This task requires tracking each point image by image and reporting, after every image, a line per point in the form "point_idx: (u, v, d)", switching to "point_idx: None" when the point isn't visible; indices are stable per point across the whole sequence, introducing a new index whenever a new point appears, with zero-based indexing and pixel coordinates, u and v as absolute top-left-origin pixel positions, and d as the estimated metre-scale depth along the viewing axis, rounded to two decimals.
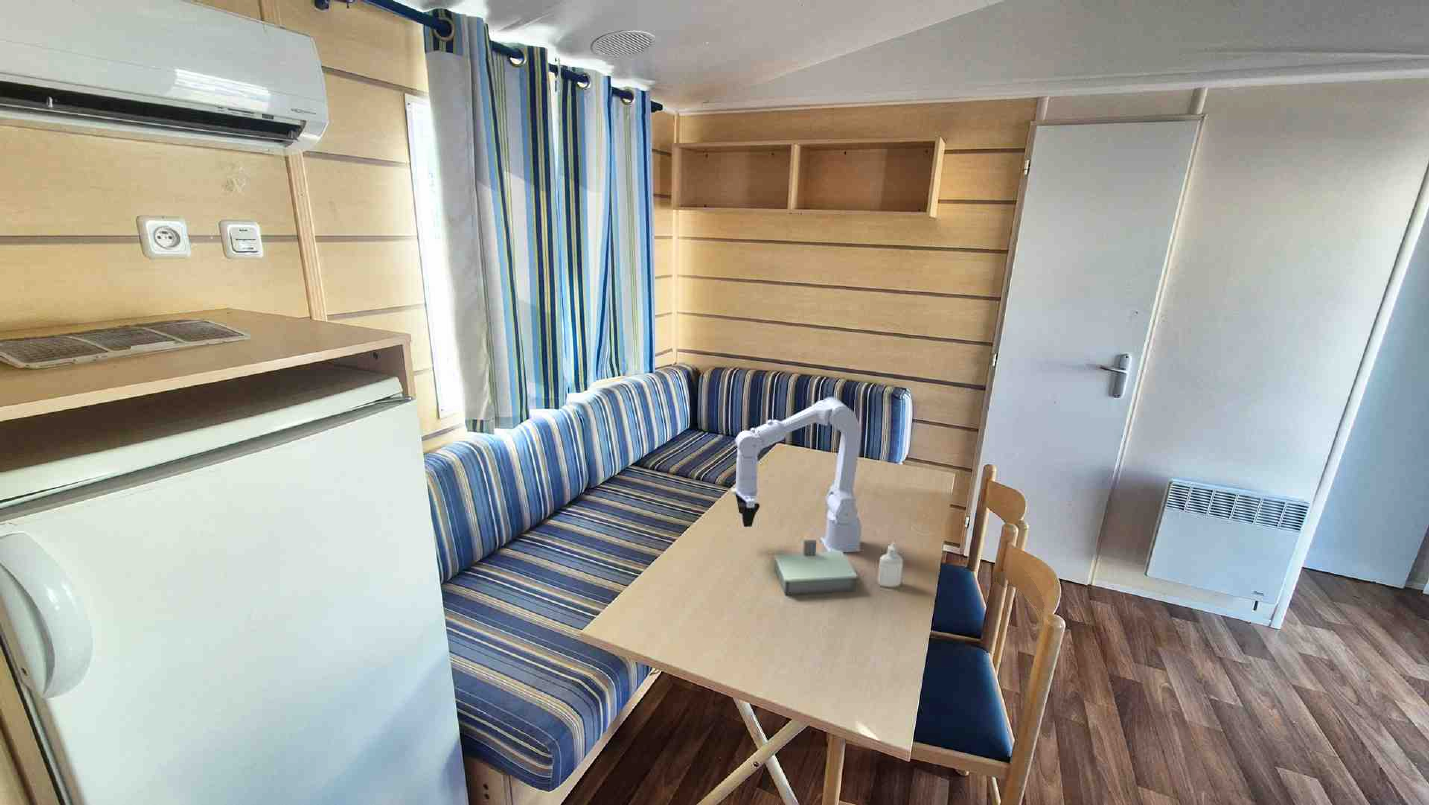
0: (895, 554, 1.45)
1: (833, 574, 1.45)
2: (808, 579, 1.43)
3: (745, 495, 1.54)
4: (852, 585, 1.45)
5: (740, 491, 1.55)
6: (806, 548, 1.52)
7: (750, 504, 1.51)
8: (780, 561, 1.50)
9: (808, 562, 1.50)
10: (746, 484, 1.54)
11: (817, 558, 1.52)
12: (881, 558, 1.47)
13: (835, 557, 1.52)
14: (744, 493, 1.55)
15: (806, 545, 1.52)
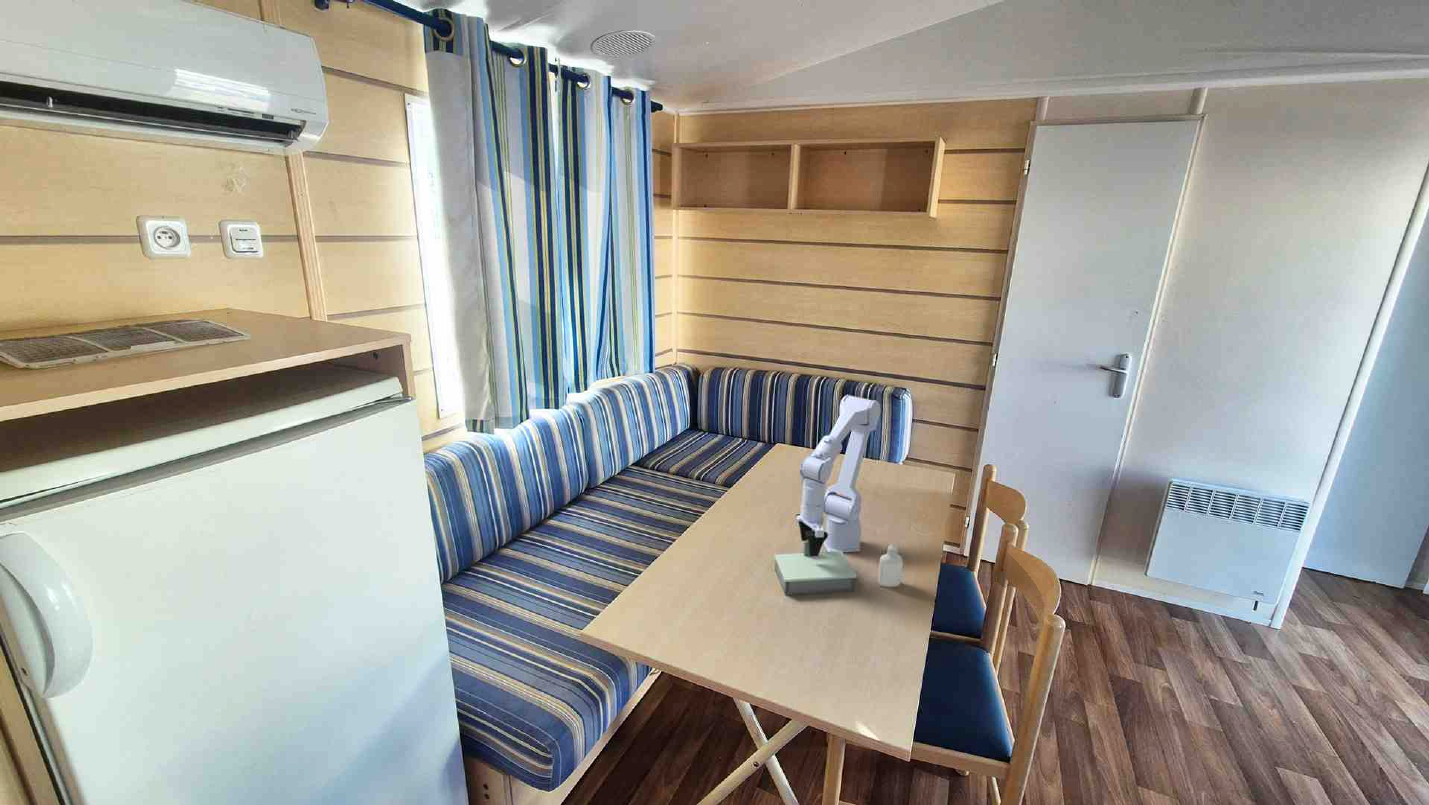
0: (895, 554, 1.45)
1: (833, 574, 1.45)
2: (808, 579, 1.43)
3: (812, 523, 1.47)
4: (852, 585, 1.45)
5: (807, 519, 1.48)
6: (806, 548, 1.52)
7: (819, 533, 1.43)
8: (780, 561, 1.50)
9: (808, 562, 1.50)
10: (813, 511, 1.47)
11: (817, 558, 1.52)
12: (881, 558, 1.47)
13: (835, 557, 1.52)
14: (811, 521, 1.47)
15: (806, 545, 1.52)
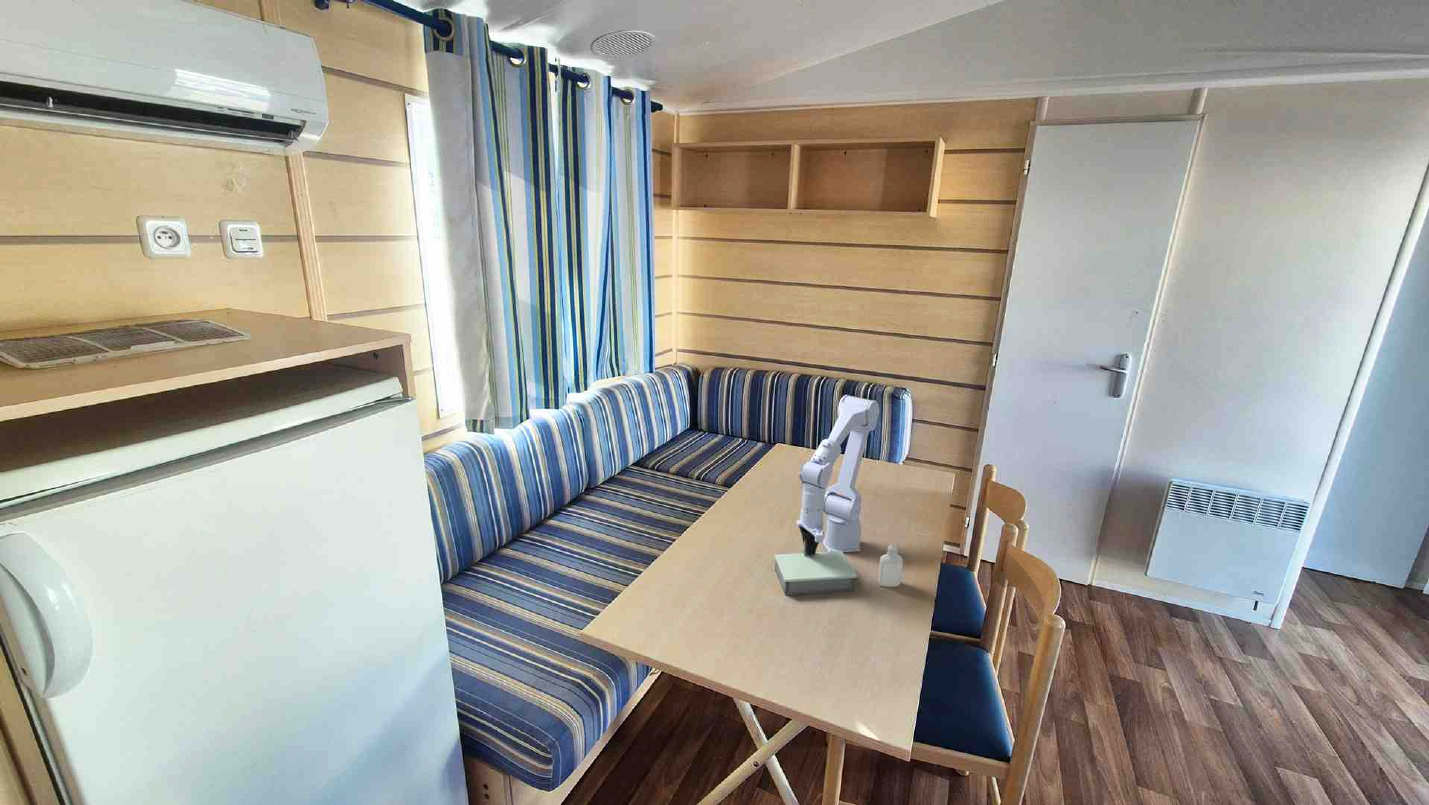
0: (895, 554, 1.45)
1: (833, 574, 1.45)
2: (808, 579, 1.43)
3: (812, 528, 1.48)
4: (852, 585, 1.45)
5: (806, 524, 1.48)
6: None
7: (819, 538, 1.44)
8: (780, 561, 1.50)
9: (808, 562, 1.50)
10: (813, 516, 1.47)
11: (817, 558, 1.52)
12: (881, 558, 1.47)
13: (835, 557, 1.52)
14: (811, 526, 1.48)
15: None
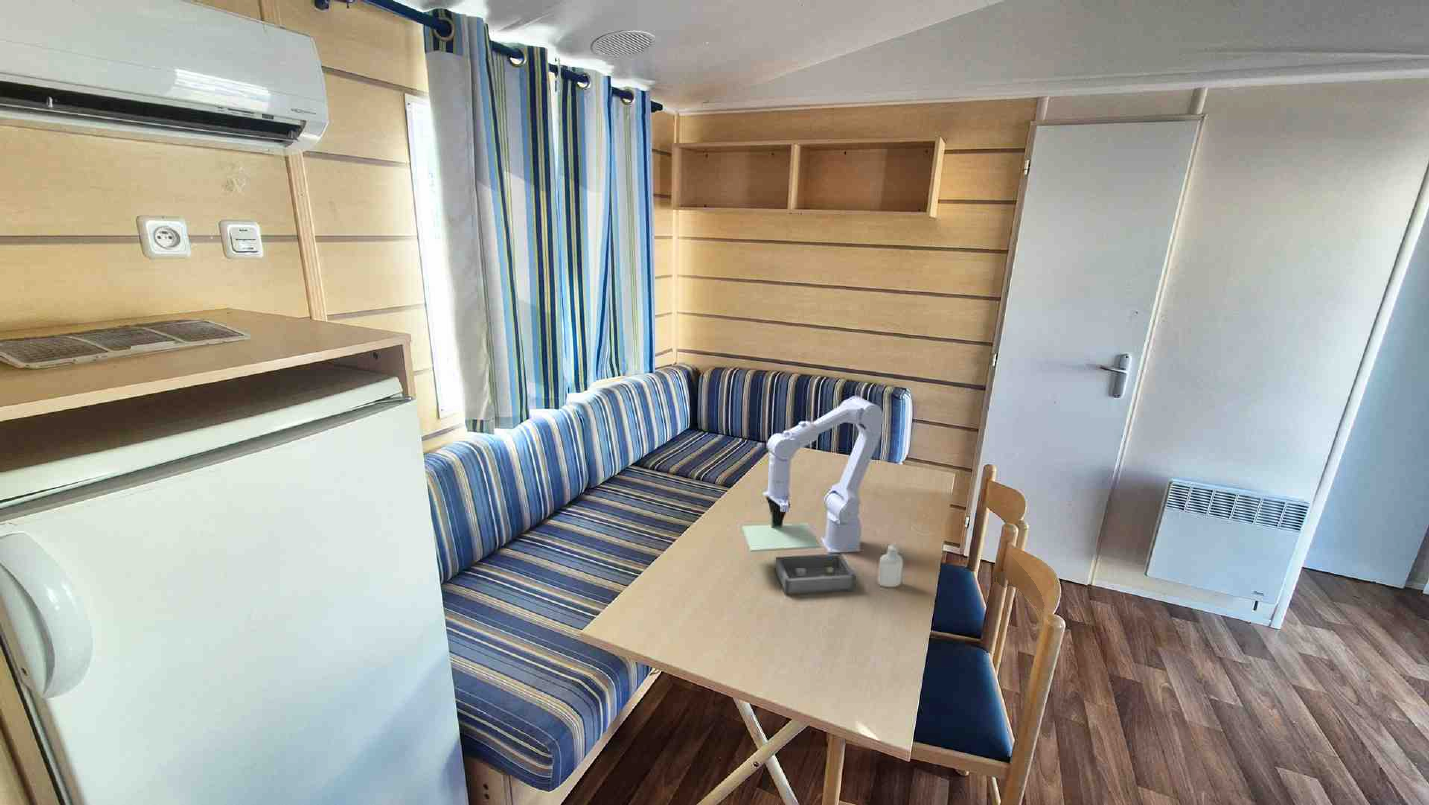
0: (895, 554, 1.45)
1: (798, 544, 1.49)
2: (773, 549, 1.48)
3: (778, 499, 1.52)
4: (852, 585, 1.45)
5: (773, 495, 1.53)
6: None
7: (784, 508, 1.48)
8: (747, 532, 1.55)
9: (774, 533, 1.54)
10: (779, 487, 1.52)
11: (783, 529, 1.56)
12: (881, 558, 1.47)
13: (801, 529, 1.57)
14: (777, 497, 1.52)
15: None
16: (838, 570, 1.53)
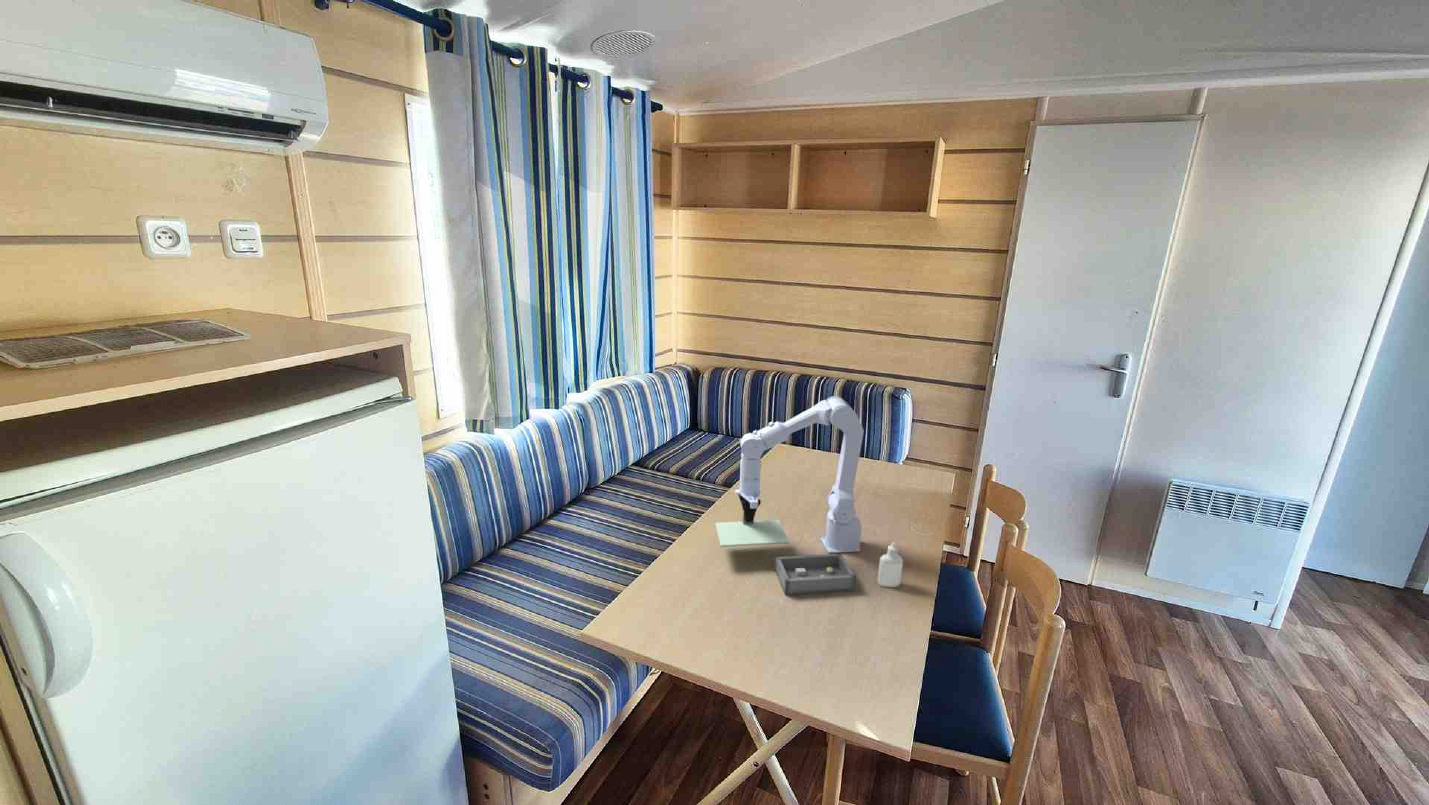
0: (895, 554, 1.45)
1: (766, 540, 1.56)
2: (742, 544, 1.54)
3: (748, 496, 1.58)
4: (852, 585, 1.45)
5: (744, 492, 1.59)
6: (744, 517, 1.63)
7: (753, 505, 1.55)
8: (719, 528, 1.61)
9: (745, 529, 1.61)
10: (749, 485, 1.58)
11: (754, 526, 1.62)
12: (881, 558, 1.47)
13: (771, 526, 1.63)
14: (748, 494, 1.59)
15: None
16: (838, 570, 1.53)
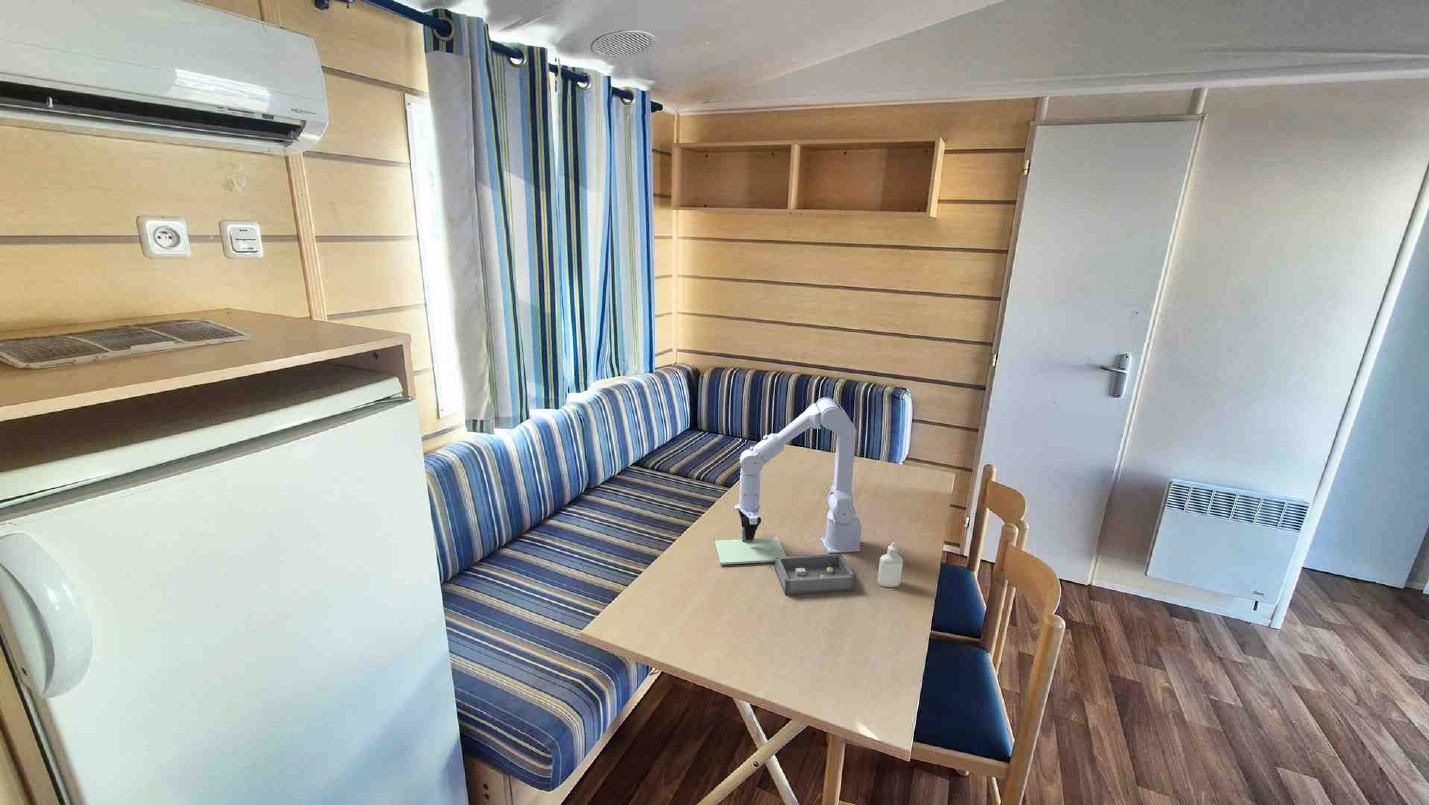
0: (895, 554, 1.45)
1: (765, 558, 1.58)
2: (742, 562, 1.56)
3: (748, 512, 1.60)
4: (852, 585, 1.45)
5: (743, 508, 1.60)
6: (744, 534, 1.65)
7: (753, 521, 1.56)
8: (719, 546, 1.63)
9: (744, 547, 1.63)
10: (749, 501, 1.59)
11: (754, 543, 1.65)
12: (881, 558, 1.47)
13: (770, 543, 1.65)
14: (747, 510, 1.60)
15: (744, 532, 1.65)
16: (838, 570, 1.53)
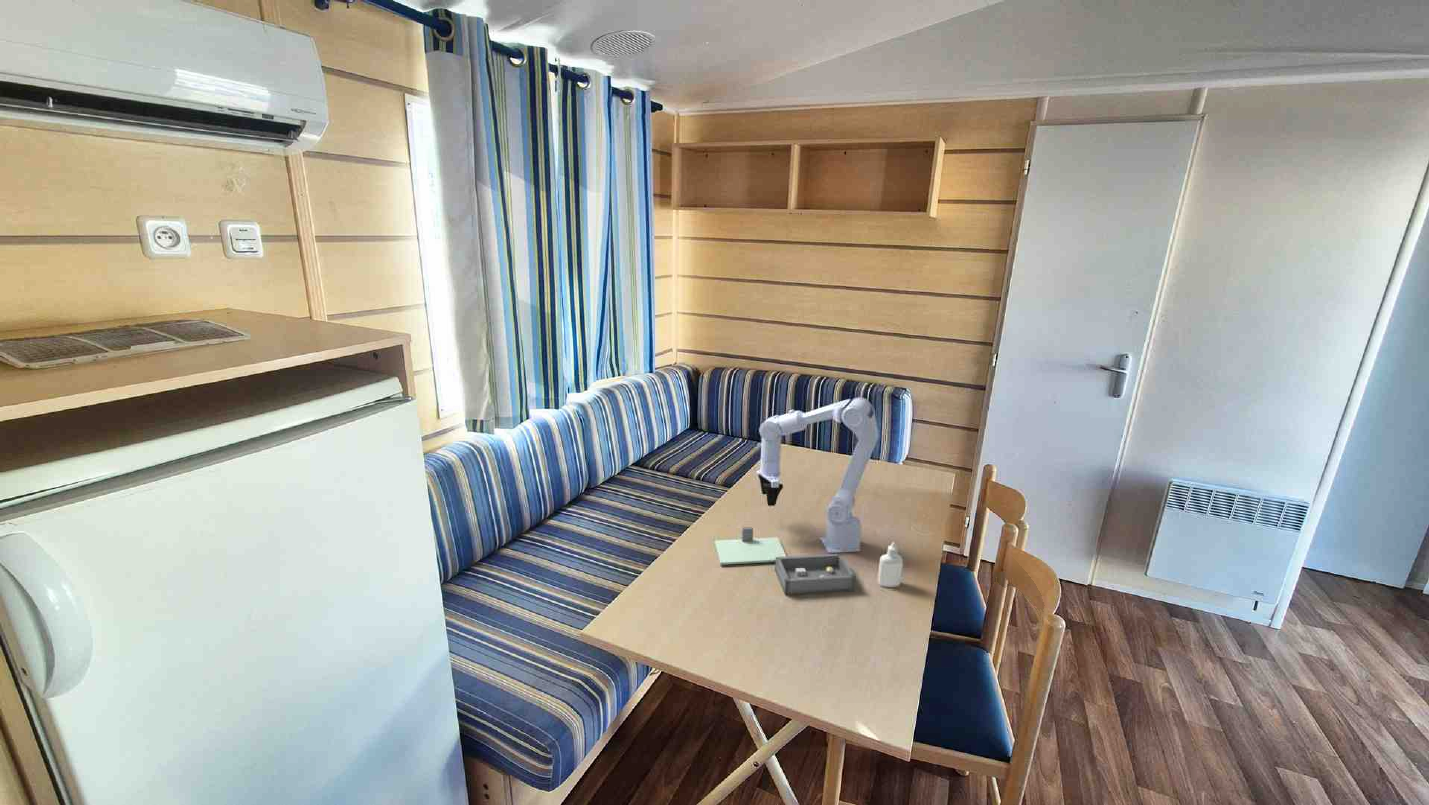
0: (895, 554, 1.45)
1: (765, 558, 1.58)
2: (742, 562, 1.56)
3: (769, 476, 1.67)
4: (852, 585, 1.45)
5: (764, 473, 1.68)
6: (744, 534, 1.65)
7: (775, 484, 1.63)
8: (719, 546, 1.63)
9: (744, 547, 1.63)
10: (770, 466, 1.66)
11: (754, 543, 1.65)
12: (881, 558, 1.47)
13: (770, 543, 1.65)
14: (768, 474, 1.67)
15: (744, 532, 1.65)
16: (838, 570, 1.53)
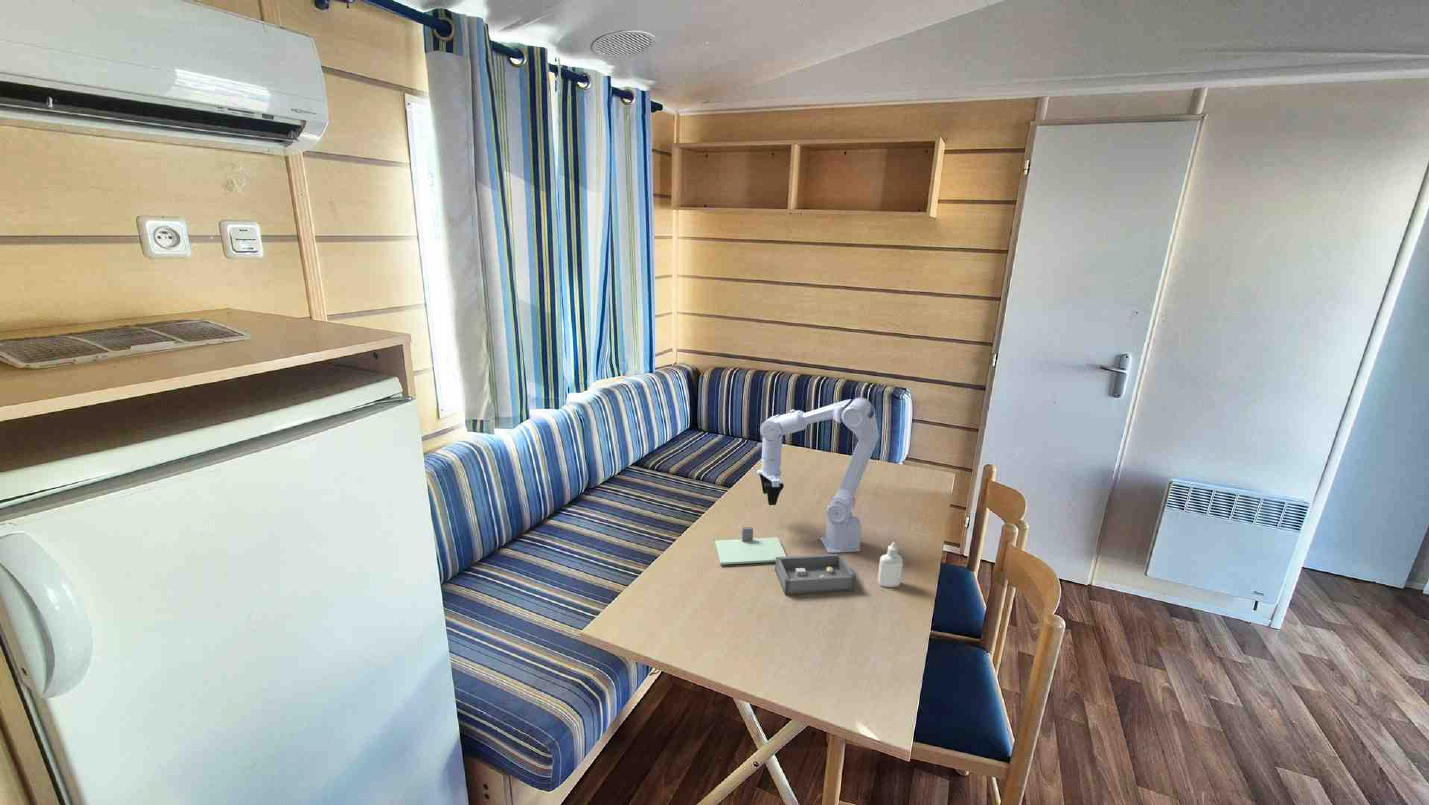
0: (895, 554, 1.45)
1: (765, 558, 1.58)
2: (742, 562, 1.56)
3: (770, 476, 1.67)
4: (852, 585, 1.45)
5: (765, 472, 1.68)
6: (744, 534, 1.65)
7: (775, 483, 1.64)
8: (719, 546, 1.63)
9: (744, 547, 1.63)
10: (771, 465, 1.67)
11: (754, 543, 1.65)
12: (881, 558, 1.47)
13: (770, 543, 1.65)
14: (769, 474, 1.68)
15: (744, 532, 1.65)
16: (838, 570, 1.53)
